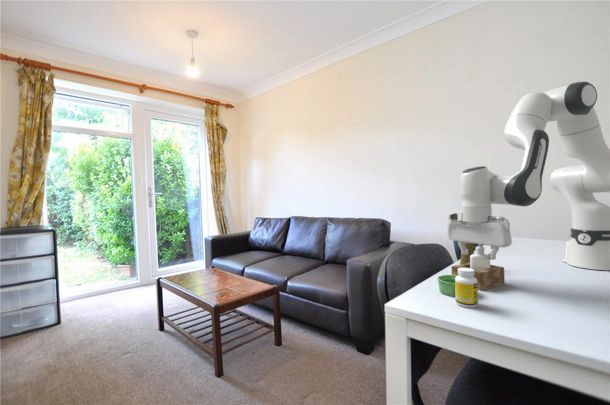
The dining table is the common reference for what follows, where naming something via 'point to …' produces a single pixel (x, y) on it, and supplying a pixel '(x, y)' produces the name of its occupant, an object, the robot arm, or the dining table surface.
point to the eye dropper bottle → (479, 259)
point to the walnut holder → (484, 275)
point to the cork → (466, 257)
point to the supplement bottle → (466, 288)
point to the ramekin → (447, 284)
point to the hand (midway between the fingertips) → (477, 256)
